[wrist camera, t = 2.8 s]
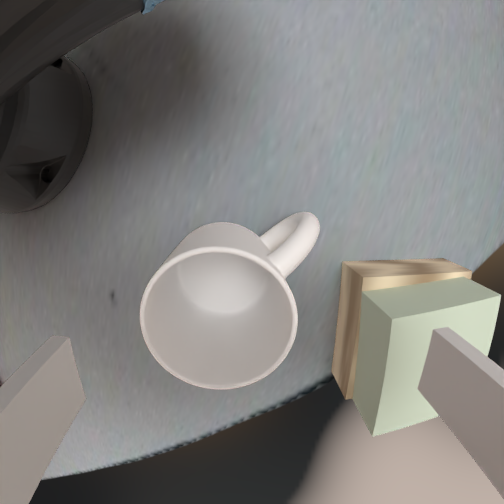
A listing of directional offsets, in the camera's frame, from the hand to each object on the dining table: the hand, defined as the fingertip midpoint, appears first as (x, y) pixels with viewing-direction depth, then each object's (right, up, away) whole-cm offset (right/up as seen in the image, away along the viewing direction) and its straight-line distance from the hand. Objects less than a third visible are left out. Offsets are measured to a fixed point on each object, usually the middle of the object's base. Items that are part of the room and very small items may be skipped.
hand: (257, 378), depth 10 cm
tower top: (+13, -3, +13) cm, 19 cm away
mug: (-1, +4, +16) cm, 17 cm away
